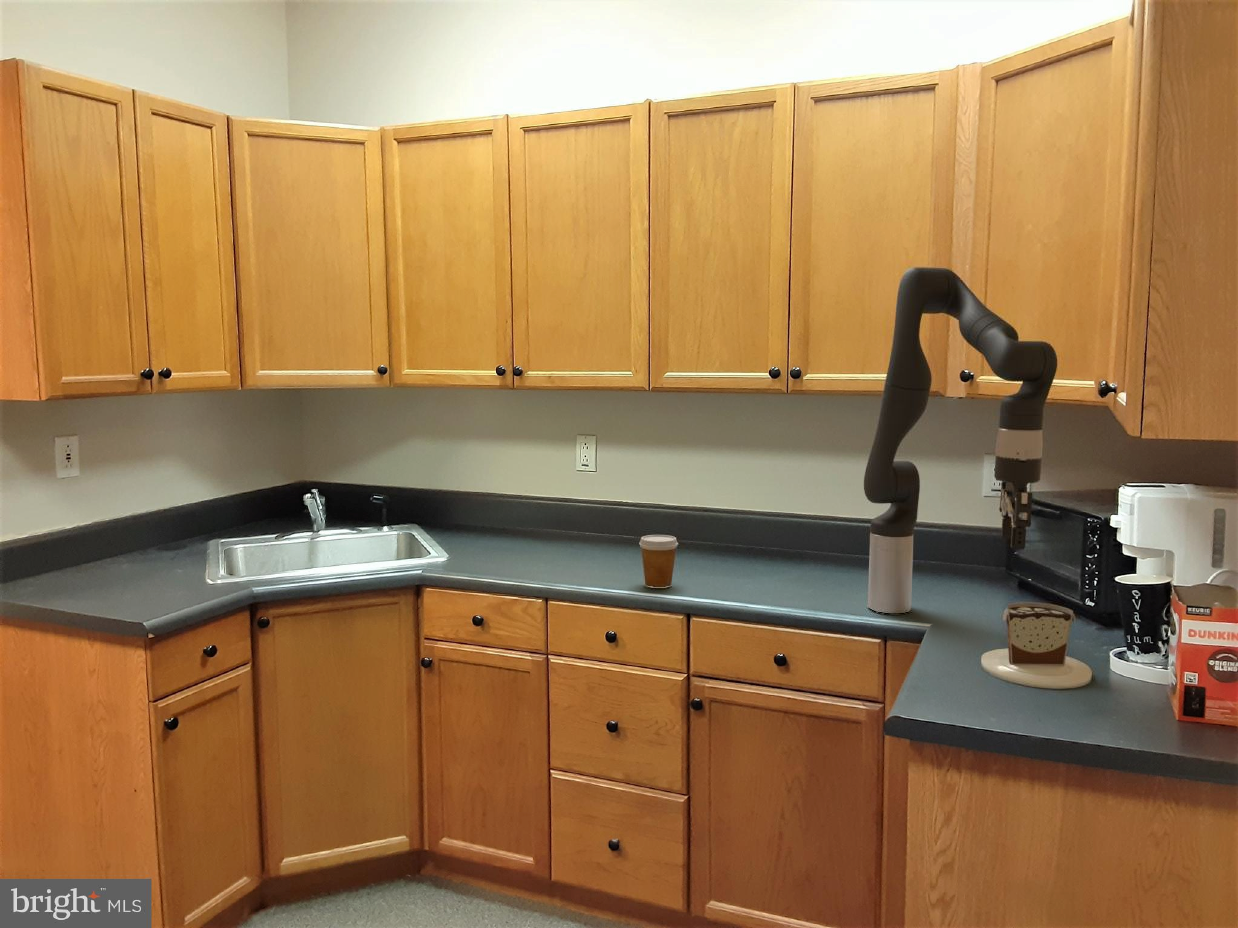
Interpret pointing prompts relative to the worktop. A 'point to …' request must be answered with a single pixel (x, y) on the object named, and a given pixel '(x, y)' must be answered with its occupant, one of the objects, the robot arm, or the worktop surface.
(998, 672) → the plate
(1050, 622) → the food container
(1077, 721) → the worktop surface
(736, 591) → the worktop surface
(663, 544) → the disposable coffee cup
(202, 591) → the worktop surface
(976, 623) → the worktop surface
